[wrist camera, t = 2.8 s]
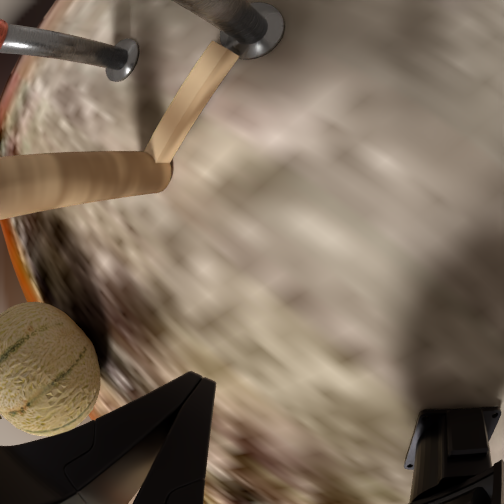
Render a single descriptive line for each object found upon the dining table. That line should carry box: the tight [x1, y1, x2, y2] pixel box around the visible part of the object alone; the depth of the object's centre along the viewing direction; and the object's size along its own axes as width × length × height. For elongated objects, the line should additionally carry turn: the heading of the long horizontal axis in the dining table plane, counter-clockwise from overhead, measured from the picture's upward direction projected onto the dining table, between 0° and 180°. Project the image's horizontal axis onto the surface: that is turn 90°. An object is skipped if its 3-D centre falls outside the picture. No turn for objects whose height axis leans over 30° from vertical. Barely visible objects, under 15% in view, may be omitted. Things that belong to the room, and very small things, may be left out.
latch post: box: [0, 19, 139, 82], centre depth 15 cm, size 4×4×14 cm
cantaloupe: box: [0, 302, 100, 436], centre depth 26 cm, size 15×15×15 cm
